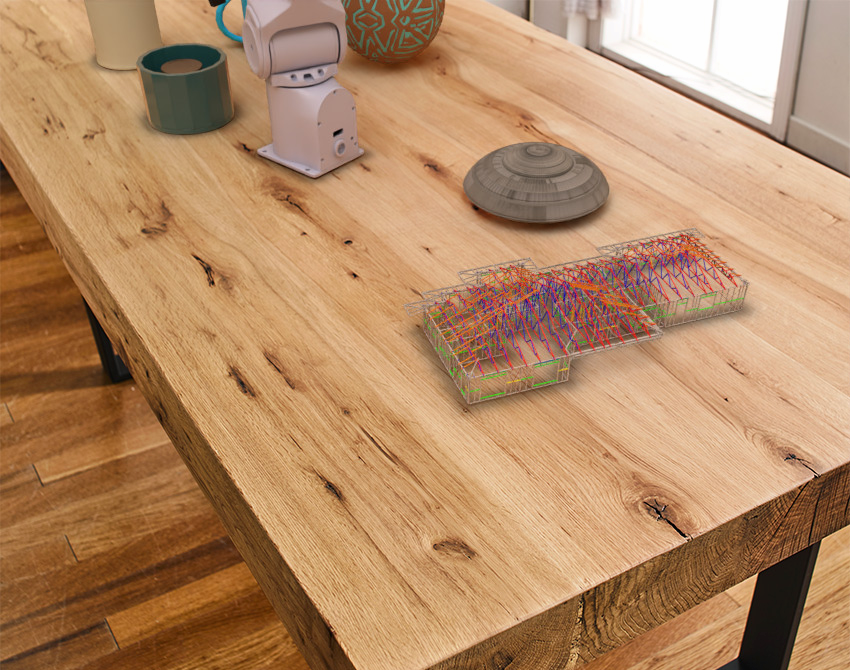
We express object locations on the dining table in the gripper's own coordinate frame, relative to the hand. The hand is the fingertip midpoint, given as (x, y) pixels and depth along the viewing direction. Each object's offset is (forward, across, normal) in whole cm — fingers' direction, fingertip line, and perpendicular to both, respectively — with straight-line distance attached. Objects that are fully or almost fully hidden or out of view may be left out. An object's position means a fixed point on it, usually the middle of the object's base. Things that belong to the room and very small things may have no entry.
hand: (242, 10), depth 110 cm
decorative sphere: (+11, +8, +19) cm, 23 cm away
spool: (+10, -2, -9) cm, 13 cm away
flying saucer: (+11, +43, -5) cm, 44 cm away
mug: (+11, -11, +15) cm, 21 cm away
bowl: (+10, -2, -9) cm, 14 cm away
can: (+11, -23, +1) cm, 25 cm away
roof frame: (+11, +57, -22) cm, 62 cm away
